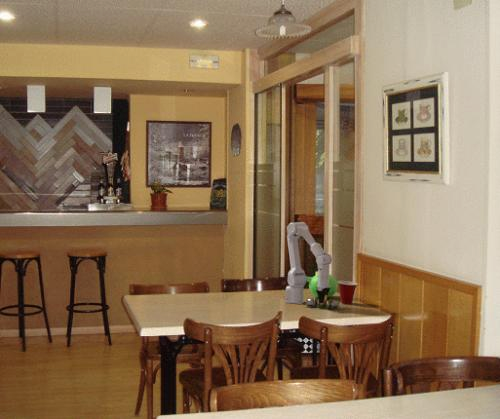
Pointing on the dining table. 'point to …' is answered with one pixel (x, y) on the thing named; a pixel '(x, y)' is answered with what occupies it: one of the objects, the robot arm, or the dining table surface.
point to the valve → (323, 303)
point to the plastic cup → (347, 291)
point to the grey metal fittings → (331, 304)
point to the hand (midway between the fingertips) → (322, 302)
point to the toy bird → (314, 285)
